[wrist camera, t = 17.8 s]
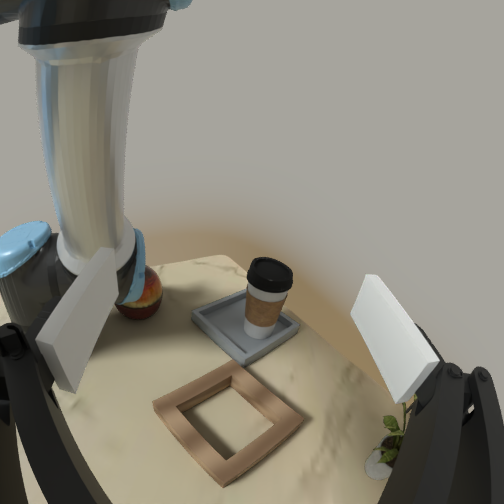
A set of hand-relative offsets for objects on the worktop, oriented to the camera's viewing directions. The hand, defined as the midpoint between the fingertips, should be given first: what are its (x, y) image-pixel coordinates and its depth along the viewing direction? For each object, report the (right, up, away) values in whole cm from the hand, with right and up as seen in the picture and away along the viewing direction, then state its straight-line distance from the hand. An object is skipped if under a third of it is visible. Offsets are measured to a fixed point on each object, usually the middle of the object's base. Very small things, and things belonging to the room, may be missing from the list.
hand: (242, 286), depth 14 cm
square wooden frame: (-3, -24, +23) cm, 33 cm away
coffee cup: (+2, -14, +43) cm, 45 cm away
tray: (-1, -14, +44) cm, 46 cm away
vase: (-24, -11, +43) cm, 50 cm away
